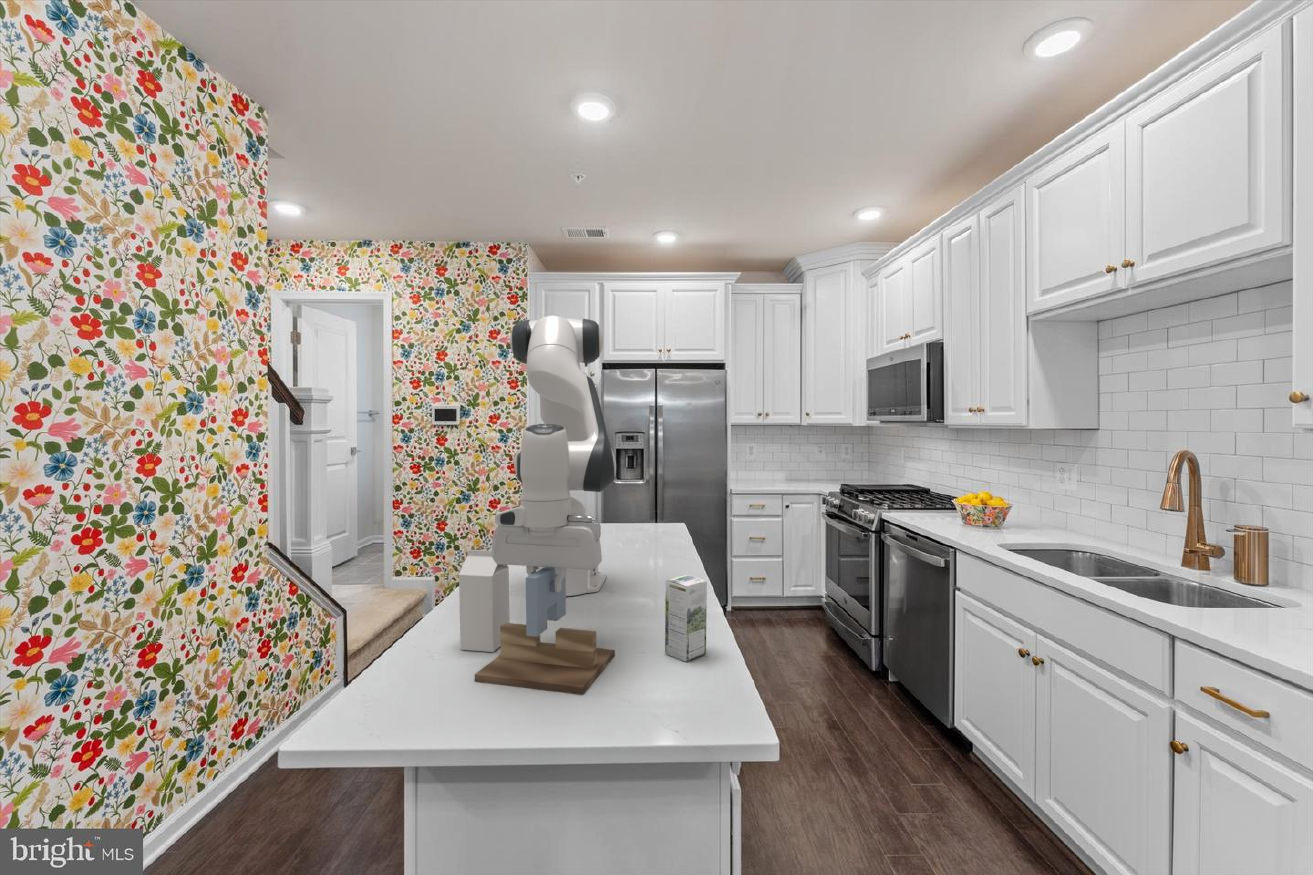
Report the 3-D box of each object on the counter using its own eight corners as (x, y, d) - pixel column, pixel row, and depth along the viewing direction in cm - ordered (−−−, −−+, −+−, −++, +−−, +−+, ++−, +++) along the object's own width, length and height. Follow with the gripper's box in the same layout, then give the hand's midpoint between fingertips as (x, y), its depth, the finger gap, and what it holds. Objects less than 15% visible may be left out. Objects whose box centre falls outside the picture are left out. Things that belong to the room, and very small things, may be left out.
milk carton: (493, 653, 112) (491, 555, 112) (460, 650, 114) (458, 554, 113) (510, 639, 119) (508, 547, 118) (478, 637, 120) (476, 546, 120)
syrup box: (684, 645, 115) (684, 573, 114) (707, 654, 111) (707, 579, 110) (664, 654, 111) (664, 579, 110) (687, 663, 107) (686, 585, 106)
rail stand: (519, 645, 115) (519, 610, 115) (614, 655, 110) (614, 618, 110) (474, 681, 100) (473, 639, 100) (582, 694, 95) (582, 651, 95)
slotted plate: (556, 613, 111) (555, 561, 110) (565, 614, 110) (565, 561, 110) (526, 635, 99) (525, 577, 99) (537, 636, 99) (536, 578, 98)
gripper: (606, 513, 105) (607, 589, 105) (504, 509, 110) (505, 582, 110) (593, 519, 99) (594, 599, 99) (486, 515, 104) (487, 591, 104)
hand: (547, 590), depth 105 cm, fingers closed on slotted plate, 2 cm apart
